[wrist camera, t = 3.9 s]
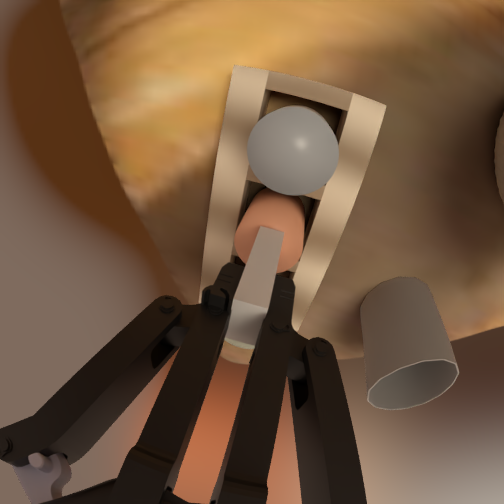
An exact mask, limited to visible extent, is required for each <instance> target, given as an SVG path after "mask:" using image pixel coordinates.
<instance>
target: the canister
mask: <svg viewBox="0 0 504 504" xmlns="http://www.w3.org/2000/svg"><path fill="white" fill-rule="evenodd" d="M495 141H496V145H495V149H494V152H495V159H494V163H495V175H496V178H497V181H496V182H497V186H498V188H499V194H500V197H501V199H502V201H503V205H504V112H503V116H502V117H501V118H500V124H499V127H498V128H497V136H496V138H495Z"/></svg>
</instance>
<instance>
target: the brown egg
mask: <svg viewBox="0 0 504 504" xmlns="http://www.w3.org/2000/svg"><path fill="white" fill-rule="evenodd" d="M304 225H305V208H304V204H303V202H302V200H301V199H300V198H299V196H298V195H285V194H281V193H278V192H276V191H273V190H271V189H270V188H265V189H263V190H261V191H260V192H259V193H257V194H256V195H255V197H254V198H253V200H252V202H251V204H250V205H249V207H248V209H247V211H246V213H245V215H244V217H243V219H242V221H241V223H240V225H239V226H238V228H237V231H236V233H235V237H234V245H235V249H236V252H237V254H238V256H239V257H240V259H241V260H242V261H243V262H244V263H245V264H246V263H247V261H248V258H249V255H250V253H251V250H252V247H253V245H254V242H255V239H256V237H257V234H258V231H259V229H260V226H263V227H267V228H270V229H274V230H277V231H281V232H284V237H283V242H282V247H281V252H280V257H279V262H278V266H277V271H276V273H280V272H283V271H286V270H288V269H290V268H291V267H293V266H294V265H295V264H296V263H297V262H298V260H299V259H300V257H301V255H302V251H303V240H304Z"/></svg>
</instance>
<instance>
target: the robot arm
mask: <svg viewBox="0 0 504 504" xmlns="http://www.w3.org/2000/svg"><path fill="white" fill-rule="evenodd" d="M283 237H284V232H281V231H277V230H274V229H270V228H267V227H263V226H260V229H259V231H258V234H257V237H256V239H255V242H254V245H253V247H252V250H251V253H250V255H249V258H248V261H247V263H246V266H245V267H244V266H240V265H237V264H233V263H230V262H228V263H227V264H225V265H224V266H222V268H221V270H220V272H219V274H218V276H217V279H216V280H215V282H214V284H213V285H209V286H207V287H205V288H204V289H203V291H202V298H201V303H200V304H196V305H182V304H181V302H180V300H178V299H177V298H175V297H173V296H161V297H159V298H157V299H155V300H154V301H153V302H152V303H151V304H150V305H149V306H148V307H147V308H145V309H144V310H143V311H142V312H141V313H140V314H139V315H138V316H137V317H136V318H134V319H133V320H132V321H131V322H130V323H129V324H128V325H127V326H126V327H125V328H124V329H123V330H122V331H120V332H119V333H118V334H117V335H116V336H115V337H114V338H113V339H112V340H111V341H110V342H109V343H107V344H106V345H105V346H104V347H103V348H102V349H101V350H100V351H99V352H98V353H97V354H96V355H95V356H94V357H93V358H91V359H90V360H89V361H88V362H87V363H86V364H85V365H84V366H83V367H82V368H81V369H80V370H79V371H78V372H77V373H76V374H75V375H74V376H73V377H72V378H71V379H70V380H69V381H68V382H67V383H66V384H65V385H64V386H62V387H61V388H60V389H59V391H57V392H56V394H54V395H53V397H51V398H50V399H49V400H48V401H47V402H46V403H45V404H44V406H42V407H41V408H40V409H39V410H38V411H37V413H35V414H34V415H33V416H31V417H28V418H26V419H24V420H21V421H19V422H16V423H14V424H11V425H9V426H6V427H3V428H1V429H0V459H1V460H3V461H5V462H7V463H9V464H11V465H12V466H13V468H14V470H15V473H16V475H17V477H18V479H19V481H20V483H21V485H22V487H23V489H24V490H25V493H26V495H27V496H28V498H29V500H30V502H31V504H199V503H189V502H187V501H185V500H183V499H181V498H179V497H178V496H176V495H174V494H173V490H174V487H175V484H176V481H177V478H178V474H179V470H180V467H181V464H182V461H183V459H184V455H185V453H186V450H187V447H188V444H189V442H190V439H191V436H192V433H193V430H194V427H195V424H196V421H197V419H198V415H199V413H200V410H201V407H202V404H203V401H204V399H205V396H206V393H207V390H208V387H209V384H210V381H211V379H212V375H213V373H214V370H215V367H216V364H217V361H218V358H219V355H220V353H221V350H222V347H223V342H224V339H225V338H228V339H232V340H235V341H239V342H242V343H246V344H249V345H253V346H255V348H254V351H253V354H252V356H251V359H250V362H249V363H250V365H249V368H248V373H247V376H246V380H245V384H244V387H243V391H242V395H241V398H240V402H239V406H238V409H237V413H236V417H235V420H234V424H233V427H232V431H231V435H230V438H229V442H228V445H227V449H226V452H225V456H224V459H223V462H222V466H221V469H220V473H219V476H218V479H217V482H216V485H215V487H214V490H213V493H212V496H211V499H210V503H209V504H266V501H267V495H268V487H267V478H268V473H269V469H270V463H271V459H272V454H273V449H274V444H275V439H276V433H277V428H278V423H279V417H280V412H281V406H282V400H283V394H284V388H285V382H286V376H287V377H288V384H289V392H290V400H291V407H292V416H293V425H294V433H295V442H296V451H297V459H298V469H299V478H300V488H301V498H302V504H367V501H366V494H365V488H364V482H363V476H362V471H361V465H360V460H359V455H358V450H357V445H356V440H355V435H354V431H353V426H352V421H351V417H350V412H349V408H348V403H347V399H346V395H345V391H344V387H343V383H342V379H341V375H340V371H339V367H338V363H337V359H336V355H335V351H334V348H333V346H332V345H331V344H330V343H329V342H328V341H327V340H325V339H323V338H319V337H316V338H312V339H310V340H308V339H306V338H304V337H302V336H301V335H299V334H298V333H297V332H296V331H295V330H294V328H293V326H292V314H293V306H294V297H295V289H296V286H295V284H294V281H293V279H289V278H285V277H282V276H278V275H276V271H277V266H278V262H279V257H280V252H281V247H282V242H283ZM179 348H180V349H179ZM178 349H179V351H178V353H177V356H176V358H175V360H174V362H173V365H172V366H171V369H170V371H169V373H168V375H167V377H166V379H165V381H164V384H163V386H162V388H161V390H160V392H159V395H158V397H157V399H156V402H155V404H154V406H153V408H152V410H151V413H150V415H149V417H148V419H147V422H146V424H145V426H144V428H143V431H142V433H141V435H140V438H139V440H138V442H137V443H136V445H135V446H134V447H132V448H131V450H130V451H129V453H128V454H127V456H126V458H125V461H124V463H123V466H122V468H121V470H120V473H119V475H118V477H117V478H115V479H111V480H108V481H105V482H103V483H100V484H97V485H95V486H92V487H90V488H87V489H84V490H81V491H79V492H76V493H73V494H70V495H67V496H64V497H62V488H63V487H64V485H65V484H66V483H68V482H69V481H70V479H71V474H72V473H71V468H70V466H69V465H71V464H73V463H75V462H76V461H77V460H79V459H80V458H82V456H84V455H85V454H86V453H87V452H88V451H89V450H90V449H91V448H92V447H93V445H94V444H95V443H96V442H97V441H98V440H99V439H100V437H101V436H102V435H103V434H104V433H105V432H106V431H107V430H108V429H109V427H110V426H111V425H112V424H113V423H114V422H115V421H116V420H117V418H118V417H119V416H120V415H121V414H122V413H123V412H124V411H125V409H126V408H127V407H128V406H129V405H130V404H131V403H132V401H133V400H134V399H135V398H136V397H137V395H138V394H139V393H140V392H141V391H142V390H143V389H144V388H145V387H146V385H147V384H148V383H149V382H150V381H151V380H152V379H153V377H154V376H155V375H156V374H157V373H158V372H159V371H160V369H161V368H162V367H163V366H164V365H165V364H166V363H167V361H168V360H169V359H170V358H171V357H172V355H174V353H175V352H176V351H177V350H178Z"/></svg>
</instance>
